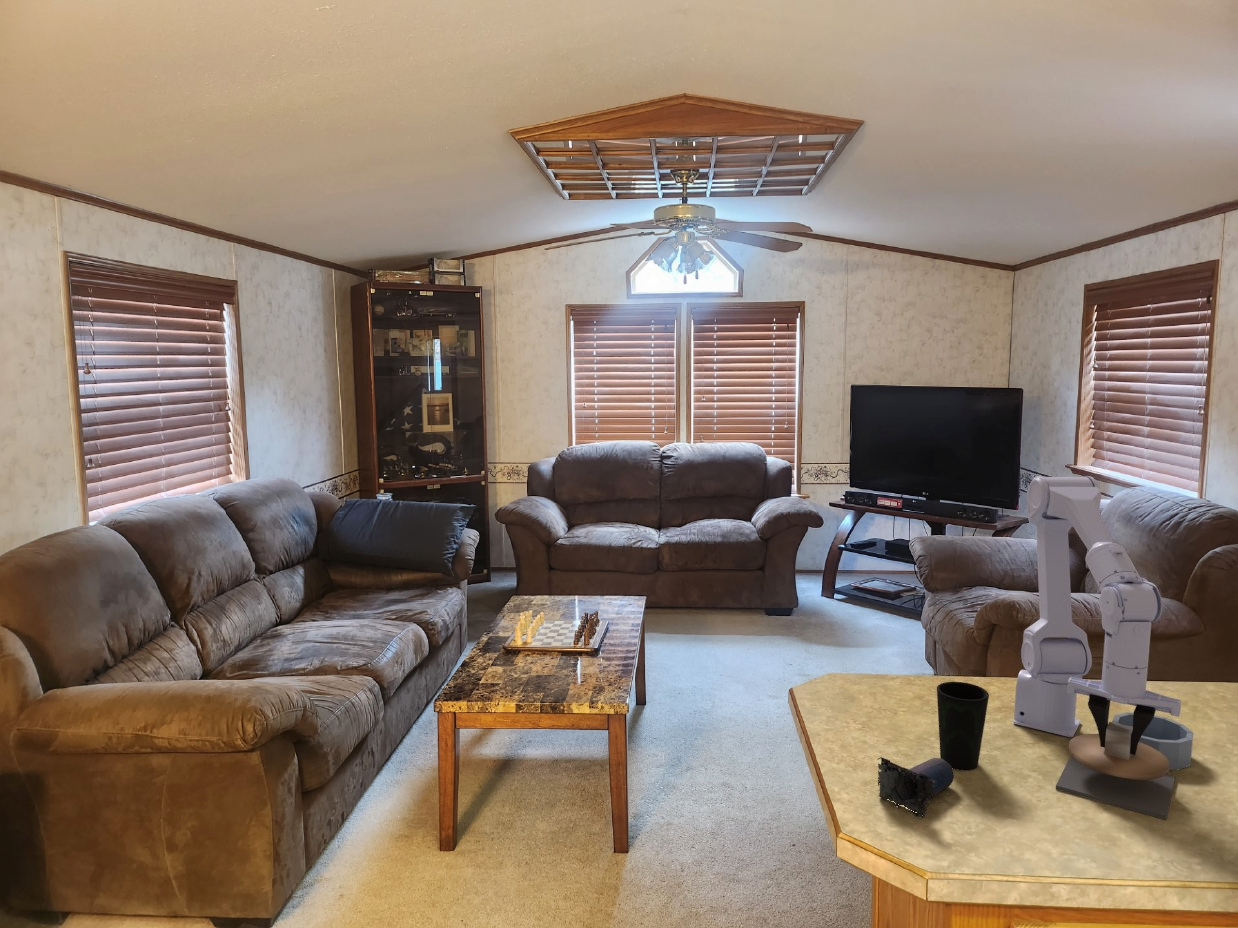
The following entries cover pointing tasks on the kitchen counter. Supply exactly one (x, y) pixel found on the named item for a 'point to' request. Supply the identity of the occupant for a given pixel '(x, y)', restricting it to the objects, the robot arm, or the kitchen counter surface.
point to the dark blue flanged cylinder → (914, 783)
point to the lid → (1119, 754)
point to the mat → (1118, 789)
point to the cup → (961, 723)
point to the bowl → (1165, 738)
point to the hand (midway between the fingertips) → (1118, 748)
